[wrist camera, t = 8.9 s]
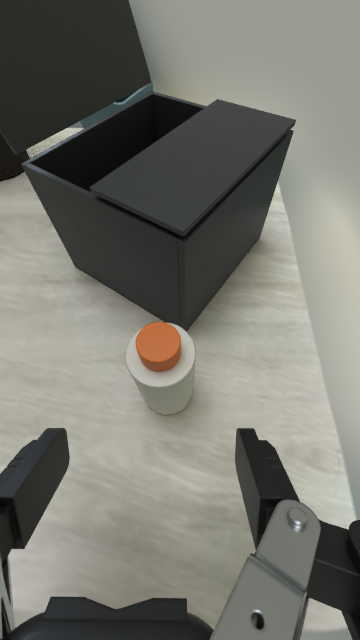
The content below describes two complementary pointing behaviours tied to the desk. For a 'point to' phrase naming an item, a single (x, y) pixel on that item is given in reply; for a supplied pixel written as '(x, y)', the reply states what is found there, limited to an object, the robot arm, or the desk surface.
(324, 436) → the desk surface
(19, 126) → the flap
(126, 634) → the robot arm
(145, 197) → the carton
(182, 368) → the orange-capped white cylinder
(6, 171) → the container
